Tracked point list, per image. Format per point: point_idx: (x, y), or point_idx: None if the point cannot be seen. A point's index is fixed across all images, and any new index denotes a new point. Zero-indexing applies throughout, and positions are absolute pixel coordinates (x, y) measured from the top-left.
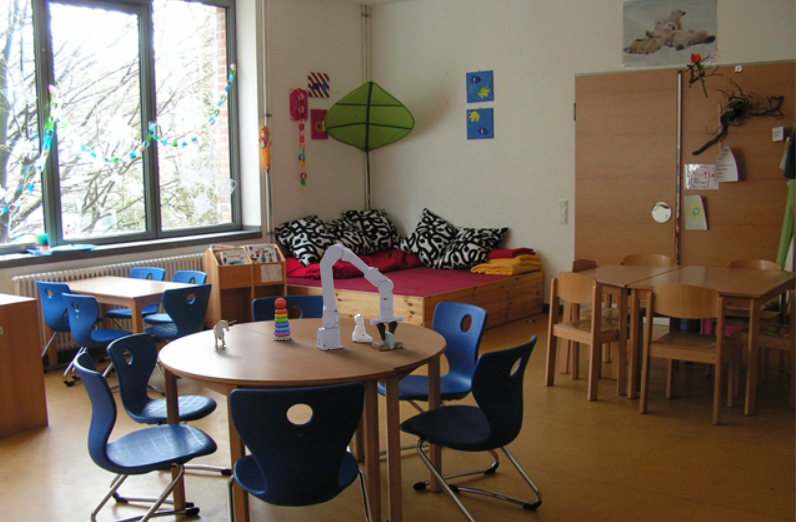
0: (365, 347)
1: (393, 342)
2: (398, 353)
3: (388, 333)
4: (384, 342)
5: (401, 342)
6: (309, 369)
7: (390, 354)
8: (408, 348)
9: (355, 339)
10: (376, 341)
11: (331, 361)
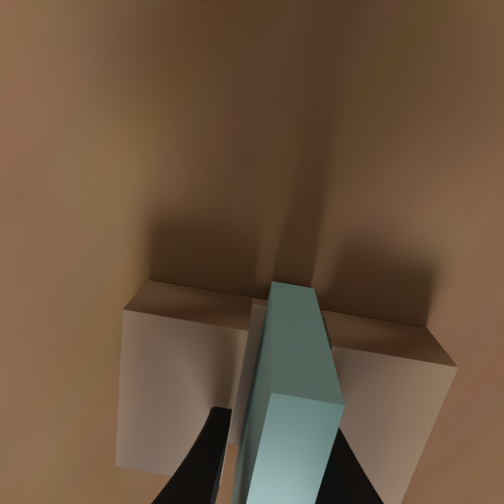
0: (410, 495)
1: (276, 313)
2: (357, 79)
3: (306, 480)
4: None
5: (145, 309)
6: None
7: (464, 102)
8: (118, 214)
9: None
10: None
11: None
